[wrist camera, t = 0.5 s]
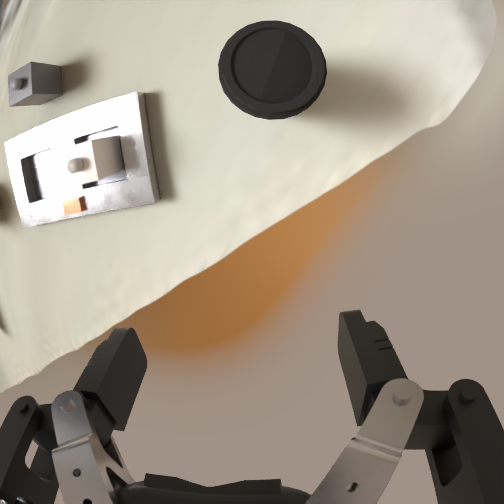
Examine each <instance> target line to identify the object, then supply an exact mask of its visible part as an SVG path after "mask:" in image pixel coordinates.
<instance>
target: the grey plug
mask: <svg viewBox="0 0 504 504" xmlns="http://www.w3.org/2000/svg"><path fill="white" fill-rule="evenodd" d="M8 88H9V106H10V107H12V106H27V105H41V104H43V103H45V102H47V101H50V100H52V99H54V98H56V97H58V96H61V95H63V93H62V80H61V66H56V65H50V64H44V63H37V62H30V63H28V64H26V65H25V66H23V67H21V68H20V69H18V70H16V71H15V72H13V73H12V74H10V75H9V76H8Z"/></svg>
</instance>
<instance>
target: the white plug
mask: <svg viewBox="0 0 504 504" xmlns="http://www.w3.org/2000/svg"><path fill="white" fill-rule="evenodd" d="M60 153H61V159H62V164H63V170H64V175H65V180H66V184H67V188H69V187H73V186H77V185H81V184H85V183H89V182H94V181H98V180H100V179H103V178H105V177H107V176H110V175H112V174H114V173H117V172H119V171H122V170H124V167H123V161H122V156H121V150H120V143H119V137H118V136H111V137H105V138H99V139H93V140H89V141H86V142H83V143H79V144H76V145H73V146H70V147H67V148H64V149H61V150H60Z"/></svg>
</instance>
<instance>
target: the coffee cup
mask: <svg viewBox="0 0 504 504" xmlns="http://www.w3.org/2000/svg"><path fill="white" fill-rule="evenodd" d="M218 68H219V80H220V83H221V85H222V88H223V91H224V93H225V94H226V95H227V97H228V98H229V99H230V101H231V102H232V103H233V104H234V105H236V106H237V107H238V108H239V109H240V110H242V111H243V112H246V113H248V114H250V115H252V116H254V117H258V118H263V119H268V120H272V119H285V118H288V117H292V116H295V115H297V114H299V113H301V112H302V111H304V110H306V109H308V108H309V107H310V106H311V105H312V104H313V103H314V101H315V100H316V99H317V98H318V96H319V95H320V93H321V91H322V89H323V87H324V85H325V80H326V75H327V68H326V60H325V57H324V55H323V52H322V49H321V48H320V46H319V45H318V44H317V42H316V41H315V40H314V38H313V37H312V36H310V35H309V34H308V33H307V32H305V31H304V30H303V29H301V28H299V27H297V26H295V25H292V24H290V23H286V22H281V21H260V22H257V23H253V24H250V25H247V26H246V27H244V28H242V29H240V30H239V31H237V32H236V33H235V34H234V35H233V36H232V37H231V38H230V39H229V40H228V41H227V42H226V44H225V46H224V48H223V50H222V51H221V55H220V59H219V64H218Z"/></svg>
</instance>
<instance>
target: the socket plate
mask: <svg viewBox="0 0 504 504" xmlns="http://www.w3.org/2000/svg"><path fill="white" fill-rule="evenodd" d="M111 136H118V137H119V143H120V150H121V156H122V161H123V167H124V170H122V171H119V172H117V173H114V174H112V175H110V176H107V177H105V178H103V179H100V180H98V181H94V182H89V183H85V184H81V185H77V186H73V187H69V188H67V184H66V180H65V175H64V170H63V164H62V159H61V153H60V150H61V149H64V148H67V147H70V146H73V145H76V144H79V143H83V142H86V141H89V140H93V139H99V138H105V137H111ZM5 148H6V154H7V160H8V166H9V172H10V177H11V182H12V186H13V191H14V195H15V200H16V204H17V208H18V212H19V215H20V219H21V223H22V226H23V228H27V227H31V226H36V225H40V224H45V223H49V222H54V221H59V220H64V219H69V218H74V217H79V216H84V215H89V214H95V213H100V212H106V211H112V210H117V209H123V208H129V207H135V206H142V205H148V204H155V203H156V202H157V201H158V200H160V199H161V197H160V191H159V186H158V180H157V175H156V169H155V163H154V157H153V151H152V144H151V138H150V131H149V124H148V117H147V109H146V101H145V93H141V92H134V93H130V94H127V95H123V96H120V97H117V98H113V99H110V100H107V101H104V102H101V103H98V104H95V105H92V106H89V107H86V108H83V109H81V110H78V111H75V112H72V113H70V114H67V115H65V116H62V117H60V118H57V119H55V120H52V121H50V122H48V123H45V124H43V125H41V126H39V127H36V128H34V129H32V130H30V131H28V132H25V133H23V134H21V135H19V136H17V137H15V138H13V139H11V140H9V141H7V142H5Z"/></svg>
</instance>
